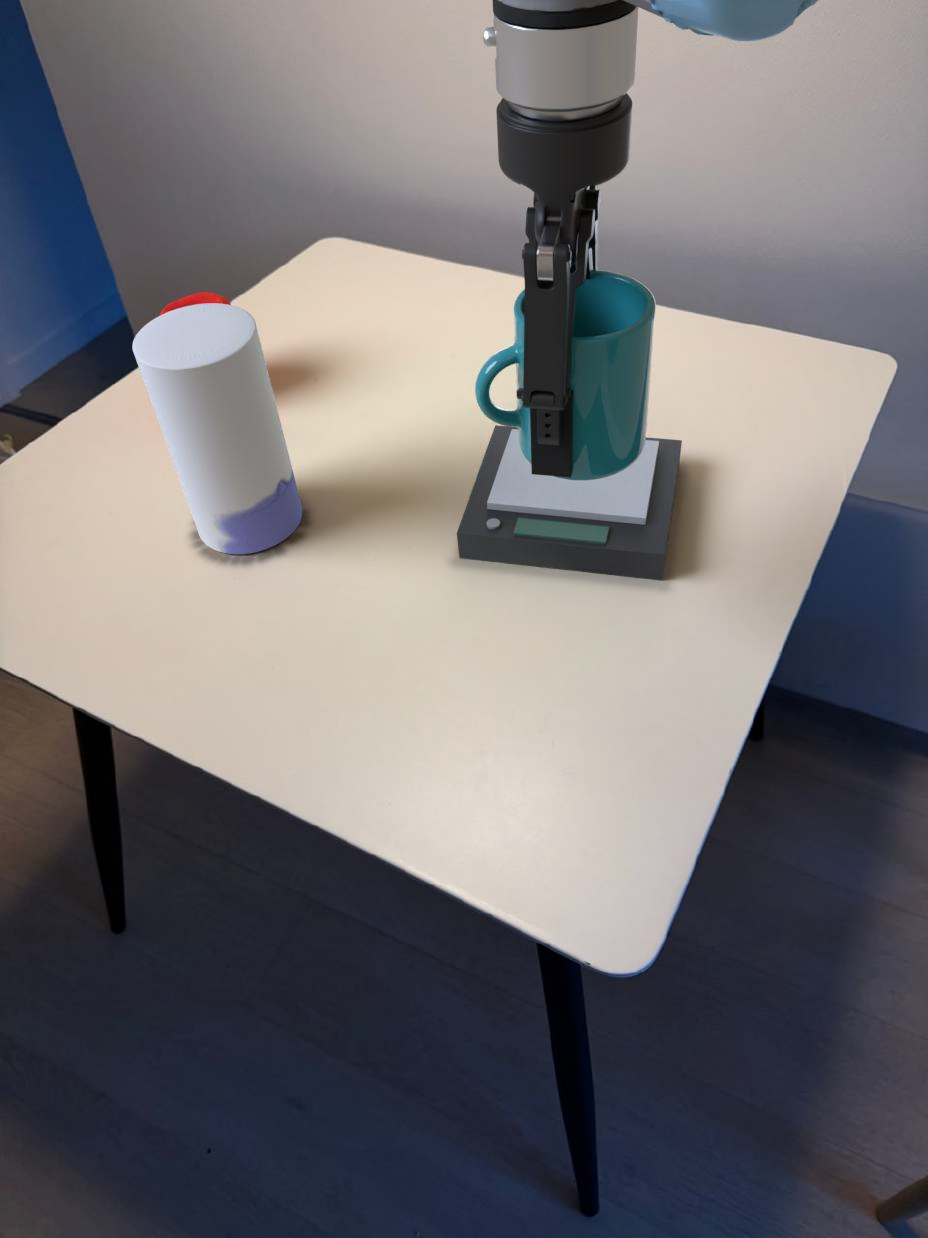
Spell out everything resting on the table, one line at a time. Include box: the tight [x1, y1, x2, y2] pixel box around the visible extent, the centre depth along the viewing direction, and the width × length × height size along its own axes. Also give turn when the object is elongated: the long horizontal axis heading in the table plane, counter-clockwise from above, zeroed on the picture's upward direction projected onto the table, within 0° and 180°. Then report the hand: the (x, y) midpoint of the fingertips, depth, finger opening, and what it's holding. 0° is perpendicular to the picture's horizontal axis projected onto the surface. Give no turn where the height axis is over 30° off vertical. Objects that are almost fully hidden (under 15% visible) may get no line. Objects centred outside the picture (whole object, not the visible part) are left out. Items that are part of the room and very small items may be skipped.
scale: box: [456, 424, 683, 581], centre depth 91 cm, size 18×16×4 cm
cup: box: [474, 269, 657, 480], centre depth 67 cm, size 9×12×11 cm
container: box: [131, 303, 303, 555], centre depth 87 cm, size 10×10×20 cm
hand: (563, 429), depth 71 cm, fingers closed on cup, 9 cm apart
